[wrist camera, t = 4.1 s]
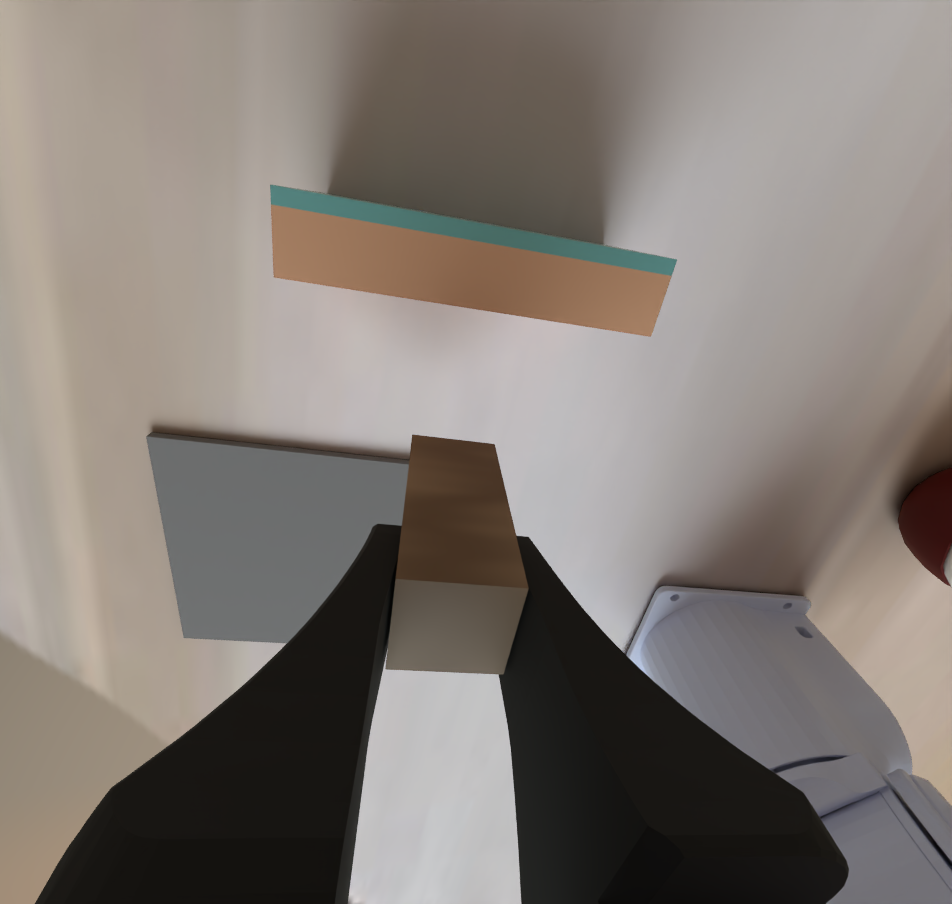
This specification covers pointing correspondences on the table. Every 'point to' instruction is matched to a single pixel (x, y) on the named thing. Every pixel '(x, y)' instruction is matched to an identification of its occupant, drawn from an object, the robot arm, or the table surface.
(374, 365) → the table surface
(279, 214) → the tile
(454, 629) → the stick
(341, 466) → the mat
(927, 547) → the cocoa
